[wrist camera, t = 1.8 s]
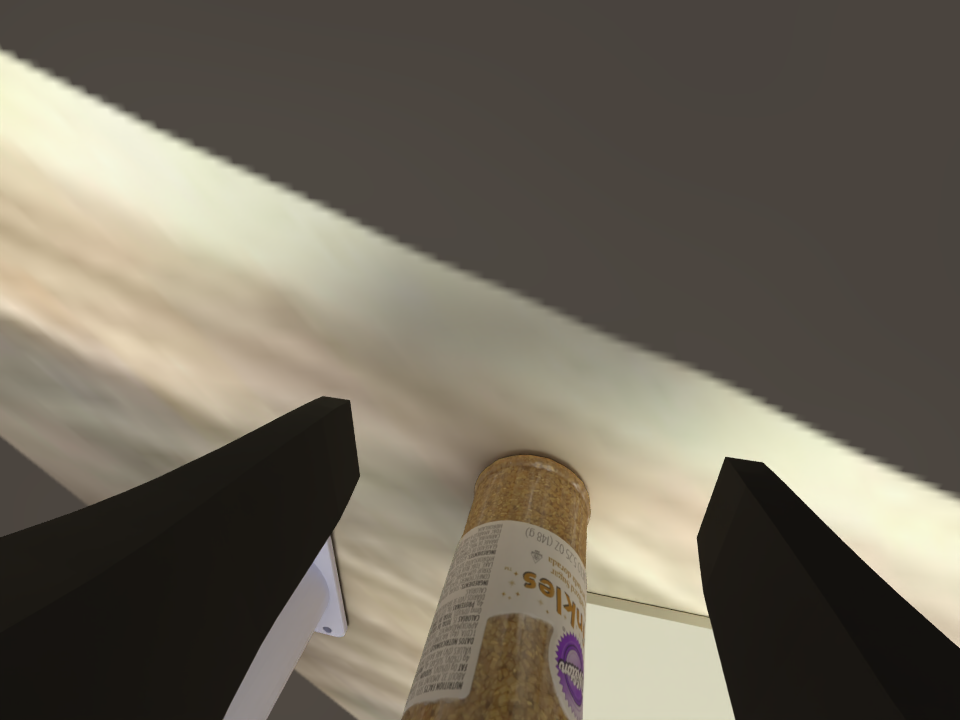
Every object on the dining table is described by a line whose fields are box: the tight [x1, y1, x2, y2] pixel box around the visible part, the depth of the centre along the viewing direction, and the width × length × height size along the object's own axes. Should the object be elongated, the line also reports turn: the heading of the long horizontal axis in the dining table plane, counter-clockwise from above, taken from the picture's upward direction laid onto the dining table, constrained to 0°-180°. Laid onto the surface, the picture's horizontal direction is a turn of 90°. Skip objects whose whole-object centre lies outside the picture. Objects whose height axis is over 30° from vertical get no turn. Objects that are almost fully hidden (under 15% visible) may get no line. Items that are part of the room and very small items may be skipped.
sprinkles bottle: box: [401, 455, 591, 720], centre depth 12 cm, size 5×5×14 cm
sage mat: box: [583, 593, 735, 720], centre depth 22 cm, size 12×12×1 cm
